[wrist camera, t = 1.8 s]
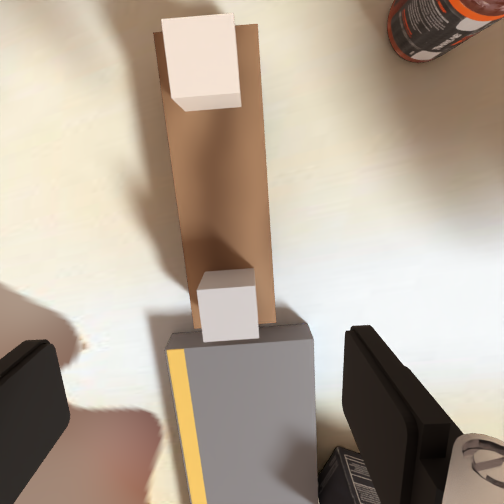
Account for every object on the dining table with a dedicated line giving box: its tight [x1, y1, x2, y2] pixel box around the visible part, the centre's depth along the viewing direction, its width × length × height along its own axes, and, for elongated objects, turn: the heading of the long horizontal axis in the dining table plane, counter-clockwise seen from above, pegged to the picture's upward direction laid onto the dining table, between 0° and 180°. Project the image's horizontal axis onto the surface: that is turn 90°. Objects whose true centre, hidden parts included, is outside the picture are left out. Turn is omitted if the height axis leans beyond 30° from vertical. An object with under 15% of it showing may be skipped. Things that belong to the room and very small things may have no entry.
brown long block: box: [153, 24, 276, 329], centre depth 26 cm, size 7×22×5 cm, turn 4°
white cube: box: [197, 268, 259, 342], centre depth 23 cm, size 4×4×4 cm
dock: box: [165, 324, 318, 504], centre depth 33 cm, size 14×26×3 cm, turn 4°
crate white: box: [161, 13, 241, 112], centre depth 19 cm, size 4×4×4 cm
